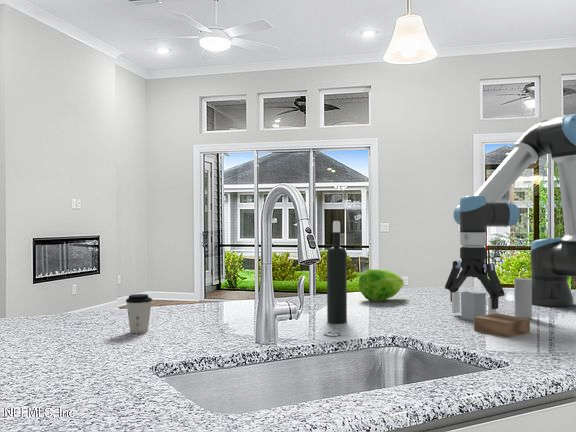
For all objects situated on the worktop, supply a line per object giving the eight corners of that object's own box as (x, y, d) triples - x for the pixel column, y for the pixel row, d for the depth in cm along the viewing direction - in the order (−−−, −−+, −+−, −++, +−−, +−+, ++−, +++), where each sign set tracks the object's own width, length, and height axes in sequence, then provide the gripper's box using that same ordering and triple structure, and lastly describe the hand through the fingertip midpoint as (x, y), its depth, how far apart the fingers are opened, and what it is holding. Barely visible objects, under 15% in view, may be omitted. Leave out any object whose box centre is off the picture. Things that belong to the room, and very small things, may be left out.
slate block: (472, 316, 160) (472, 291, 160) (485, 319, 156) (485, 292, 156) (461, 318, 157) (461, 292, 157) (474, 321, 153) (474, 294, 153)
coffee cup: (157, 330, 142) (157, 294, 142) (142, 335, 136) (142, 297, 136) (136, 328, 145) (135, 293, 145) (120, 333, 138) (120, 296, 138)
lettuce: (416, 300, 193) (416, 268, 193) (376, 305, 182) (376, 271, 182) (390, 295, 204) (390, 265, 204) (351, 300, 194) (351, 268, 194)
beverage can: (533, 319, 155) (533, 279, 155) (516, 319, 156) (516, 279, 156) (529, 316, 159) (529, 277, 159) (513, 316, 160) (512, 277, 160)
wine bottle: (350, 321, 153) (350, 220, 153) (338, 324, 149) (338, 220, 149) (335, 319, 157) (334, 220, 157) (323, 321, 153) (322, 220, 153)
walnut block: (497, 327, 145) (497, 313, 145) (530, 334, 137) (530, 319, 137) (474, 331, 140) (474, 317, 140) (506, 338, 132) (506, 323, 132)
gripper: (433, 245, 165) (433, 311, 165) (500, 248, 144) (500, 324, 144) (449, 244, 169) (450, 309, 169) (517, 247, 148) (517, 321, 148)
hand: (473, 316), depth 156 cm, fingers open, 13 cm apart
